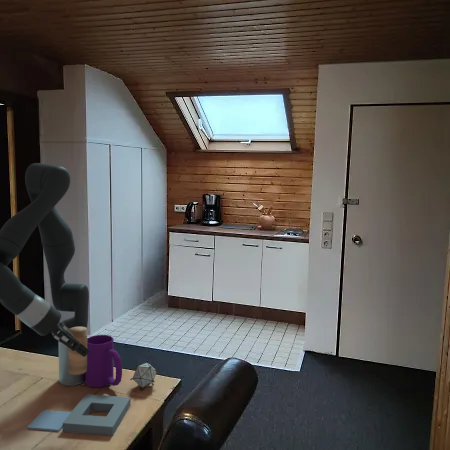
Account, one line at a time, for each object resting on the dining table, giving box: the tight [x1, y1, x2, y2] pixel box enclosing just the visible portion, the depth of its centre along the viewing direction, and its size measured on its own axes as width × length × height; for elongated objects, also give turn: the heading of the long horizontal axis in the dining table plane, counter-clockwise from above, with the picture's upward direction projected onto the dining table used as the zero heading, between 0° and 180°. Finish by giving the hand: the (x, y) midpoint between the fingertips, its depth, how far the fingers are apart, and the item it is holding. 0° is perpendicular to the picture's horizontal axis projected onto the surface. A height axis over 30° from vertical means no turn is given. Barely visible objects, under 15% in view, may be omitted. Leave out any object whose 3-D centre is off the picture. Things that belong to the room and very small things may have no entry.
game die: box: [129, 359, 160, 391], centre depth 147 cm, size 9×8×10 cm
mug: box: [85, 334, 123, 389], centre depth 146 cm, size 9×16×15 cm, turn 53°
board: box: [62, 394, 132, 436], centre depth 127 cm, size 16×14×2 cm
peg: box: [68, 327, 88, 375], centre depth 124 cm, size 5×5×12 cm
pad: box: [27, 409, 72, 432], centre depth 125 cm, size 9×9×1 cm
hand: (84, 350), depth 125 cm, fingers closed on peg, 5 cm apart
